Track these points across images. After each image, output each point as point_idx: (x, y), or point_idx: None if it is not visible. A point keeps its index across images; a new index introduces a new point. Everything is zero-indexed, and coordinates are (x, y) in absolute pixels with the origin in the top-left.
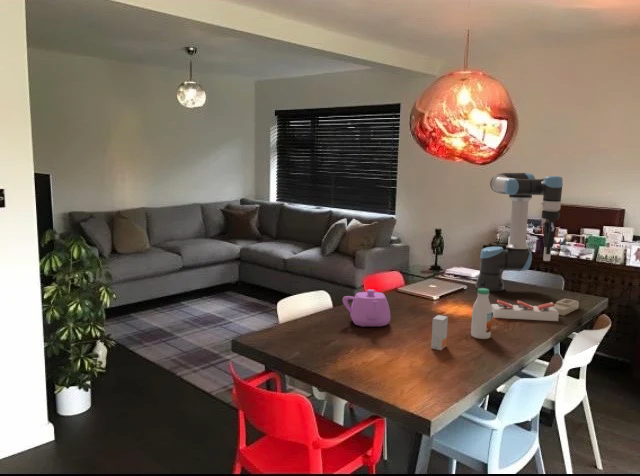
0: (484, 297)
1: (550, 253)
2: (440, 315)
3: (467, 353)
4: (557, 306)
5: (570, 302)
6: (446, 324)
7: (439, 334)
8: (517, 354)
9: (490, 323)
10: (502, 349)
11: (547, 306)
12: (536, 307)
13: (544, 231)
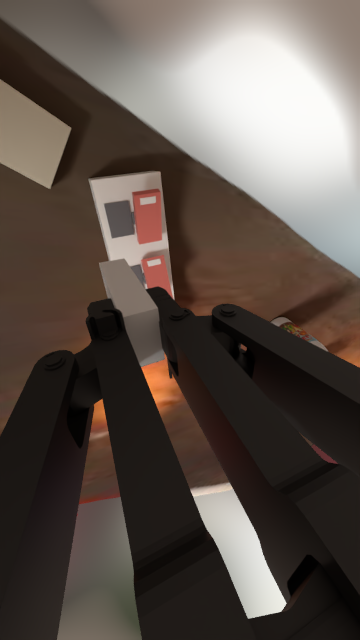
0: None
1: (140, 282)
2: None
3: (329, 330)
4: (25, 149)
5: None
6: None
7: None
8: (341, 274)
9: (302, 329)
10: (323, 295)
11: (160, 214)
12: (122, 242)
13: (56, 637)
